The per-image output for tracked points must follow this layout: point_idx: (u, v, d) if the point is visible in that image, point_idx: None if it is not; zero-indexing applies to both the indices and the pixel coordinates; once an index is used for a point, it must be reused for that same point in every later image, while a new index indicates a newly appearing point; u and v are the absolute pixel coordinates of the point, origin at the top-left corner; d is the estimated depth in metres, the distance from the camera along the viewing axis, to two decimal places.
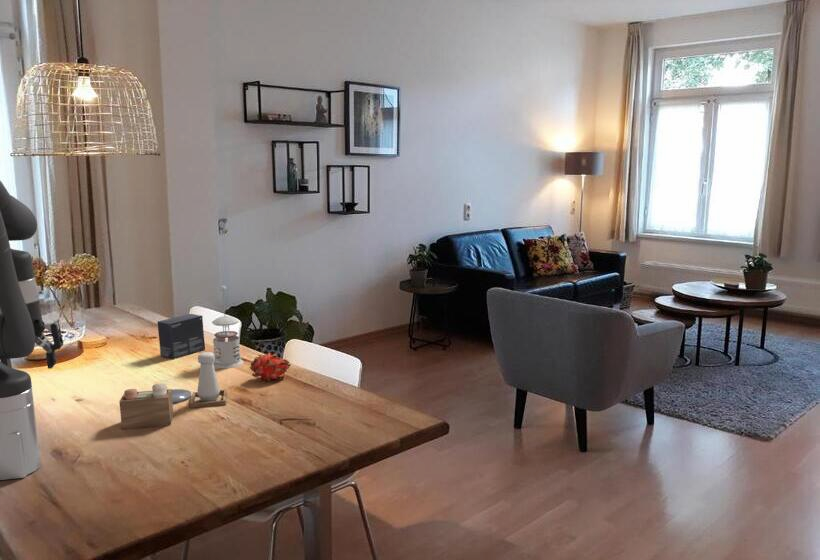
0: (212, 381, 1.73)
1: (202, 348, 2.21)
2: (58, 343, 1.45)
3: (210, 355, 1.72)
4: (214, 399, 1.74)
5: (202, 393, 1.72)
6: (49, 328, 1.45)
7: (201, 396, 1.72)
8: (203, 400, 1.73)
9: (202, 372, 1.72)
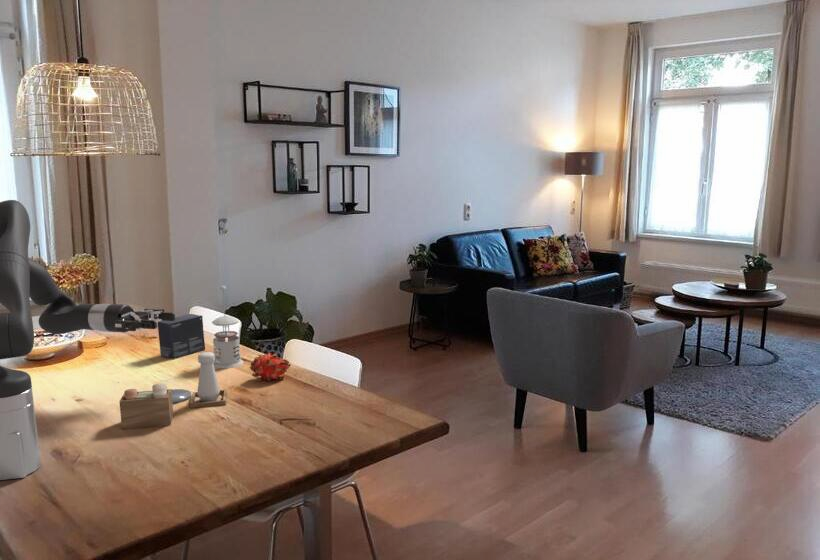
0: (212, 381, 1.73)
1: (202, 348, 2.21)
2: (160, 309, 1.81)
3: (210, 355, 1.72)
4: (214, 399, 1.74)
5: (202, 393, 1.72)
6: (145, 312, 1.80)
7: (201, 396, 1.72)
8: (203, 400, 1.73)
9: (202, 372, 1.72)
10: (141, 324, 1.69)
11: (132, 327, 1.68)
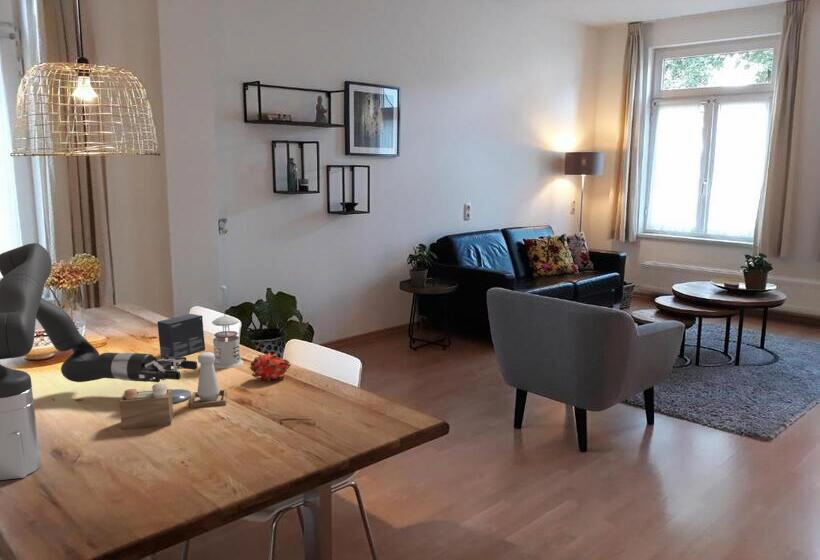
0: (212, 381, 1.73)
1: (202, 348, 2.21)
2: (181, 357, 1.82)
3: (210, 355, 1.72)
4: (214, 399, 1.74)
5: (202, 393, 1.72)
6: None
7: (201, 396, 1.72)
8: (203, 400, 1.73)
9: (202, 372, 1.72)
10: (165, 375, 1.70)
11: (156, 378, 1.69)
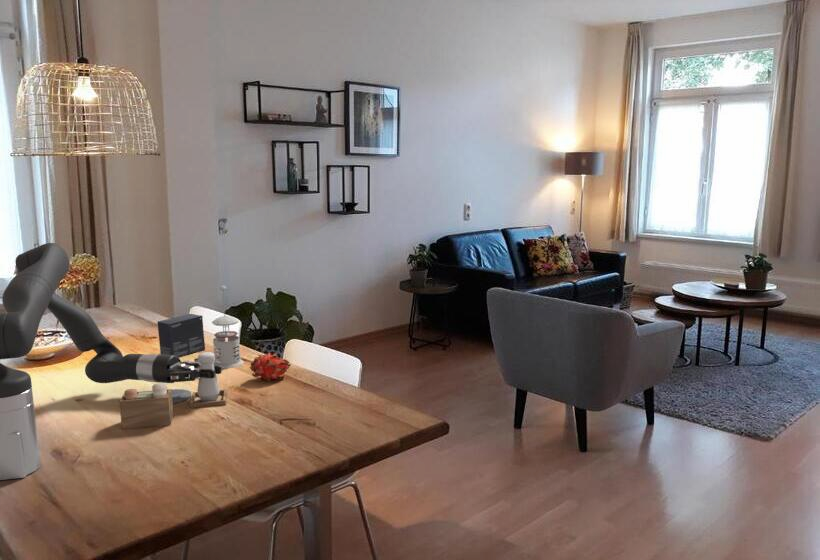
0: (212, 381, 1.73)
1: (202, 348, 2.21)
2: None
3: (210, 355, 1.72)
4: (214, 399, 1.74)
5: (202, 393, 1.72)
6: None
7: (201, 396, 1.72)
8: (203, 400, 1.73)
9: None
10: (200, 373, 1.71)
11: (191, 377, 1.70)
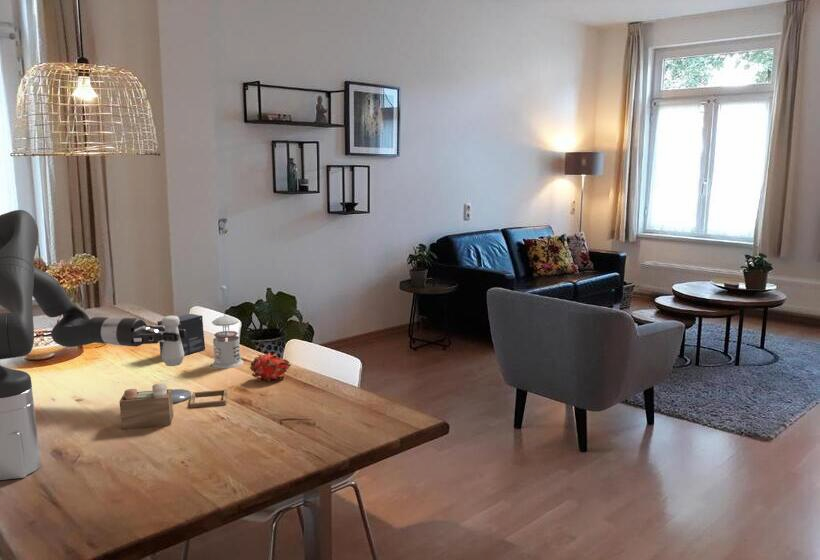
0: (176, 344, 1.73)
1: (202, 348, 2.21)
2: None
3: (174, 318, 1.72)
4: (178, 363, 1.74)
5: (165, 356, 1.72)
6: None
7: (164, 359, 1.72)
8: (167, 363, 1.73)
9: None
10: (163, 336, 1.71)
11: (154, 339, 1.70)
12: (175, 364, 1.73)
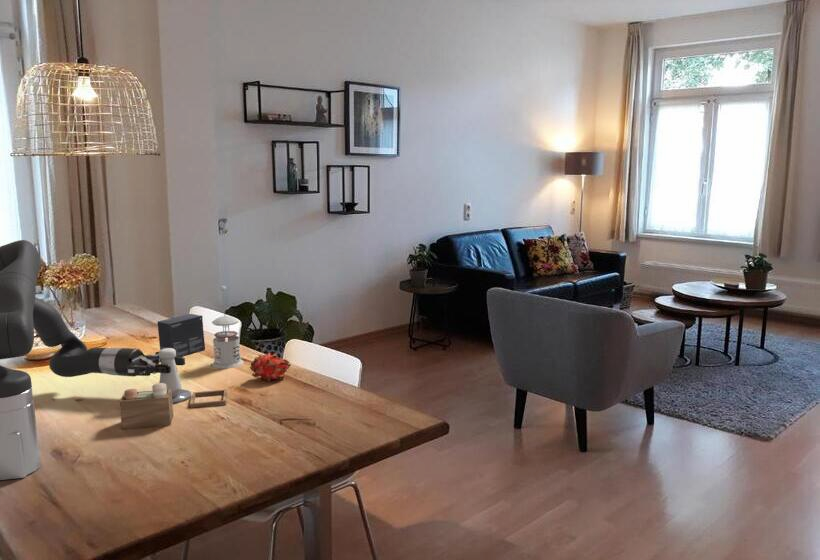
0: (173, 377, 1.75)
1: (202, 348, 2.21)
2: None
3: (171, 351, 1.74)
4: (175, 394, 1.76)
5: None
6: None
7: None
8: None
9: None
10: (155, 369, 1.71)
11: (146, 372, 1.70)
12: (172, 396, 1.75)
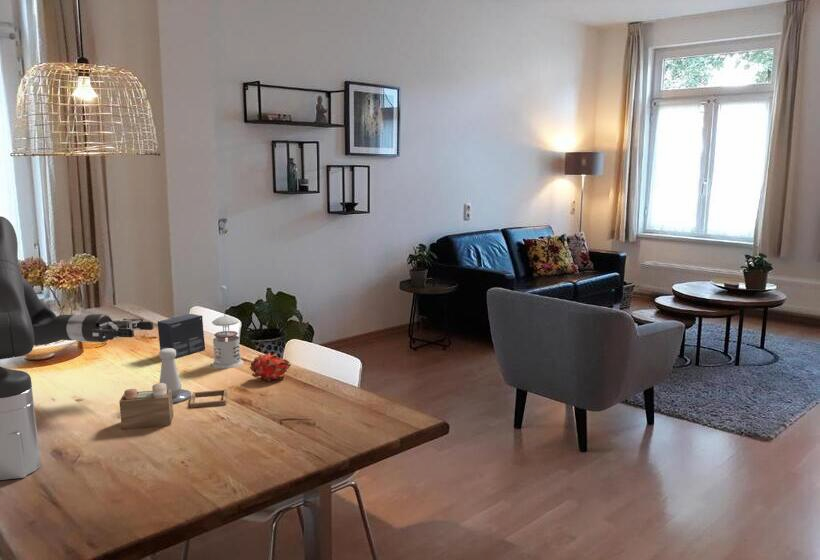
0: (174, 377, 1.75)
1: (202, 348, 2.21)
2: (138, 319, 1.83)
3: (171, 351, 1.74)
4: (175, 395, 1.76)
5: None
6: (124, 322, 1.82)
7: None
8: None
9: (164, 367, 1.74)
10: (118, 333, 1.71)
11: (109, 336, 1.69)
12: (172, 396, 1.75)
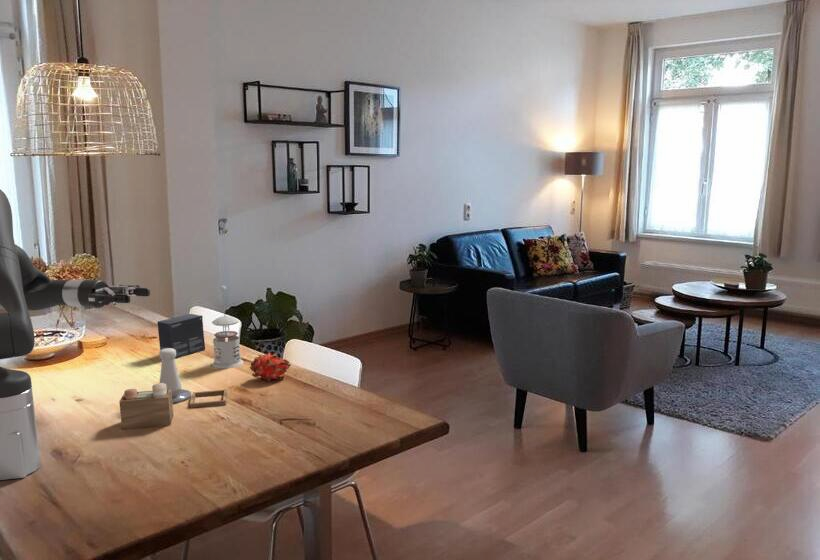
0: (174, 377, 1.75)
1: (202, 348, 2.21)
2: (135, 285, 1.81)
3: (171, 351, 1.74)
4: (175, 395, 1.76)
5: None
6: None
7: None
8: None
9: (164, 367, 1.74)
10: (114, 298, 1.69)
11: (105, 301, 1.68)
12: (172, 396, 1.75)
